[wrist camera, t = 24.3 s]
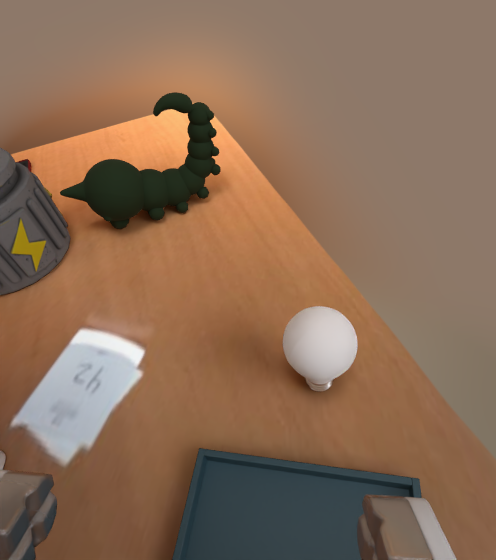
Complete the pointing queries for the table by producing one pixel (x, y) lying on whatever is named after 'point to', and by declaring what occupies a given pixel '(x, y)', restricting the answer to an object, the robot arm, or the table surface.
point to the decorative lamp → (27, 227)
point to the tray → (277, 508)
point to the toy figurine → (153, 173)
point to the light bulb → (320, 345)
